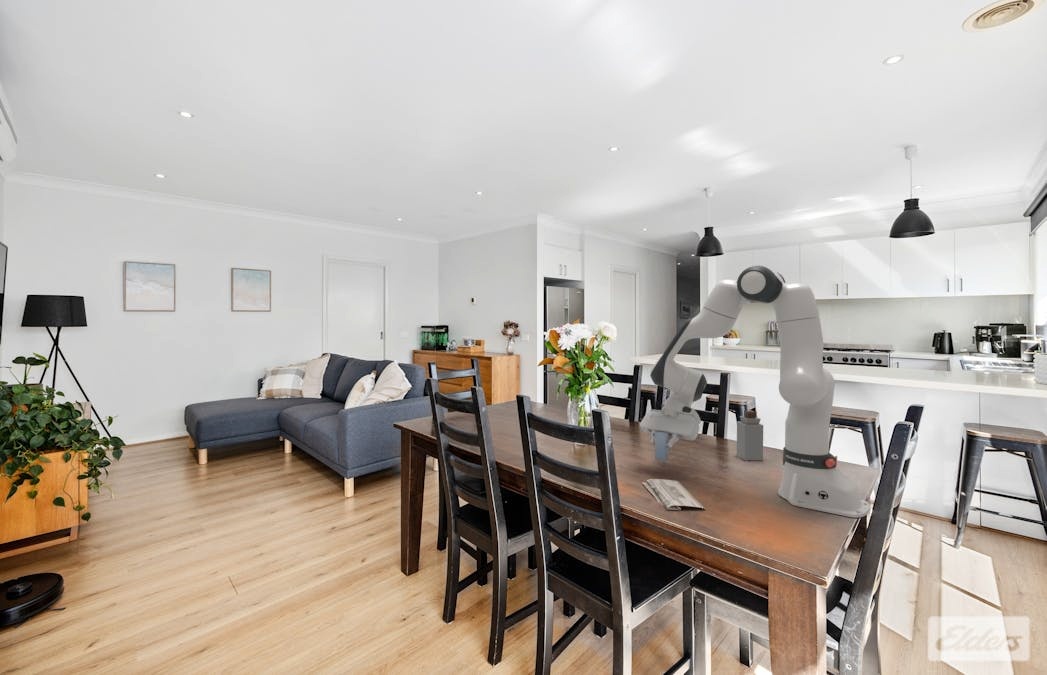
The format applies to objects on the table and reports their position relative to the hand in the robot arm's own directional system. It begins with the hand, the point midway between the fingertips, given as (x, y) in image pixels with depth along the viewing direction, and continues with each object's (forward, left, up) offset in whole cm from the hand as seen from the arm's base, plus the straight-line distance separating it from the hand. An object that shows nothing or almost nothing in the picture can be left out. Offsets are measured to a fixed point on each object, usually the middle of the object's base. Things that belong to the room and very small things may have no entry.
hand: (660, 445), depth 156 cm
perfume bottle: (-12, -43, -11) cm, 46 cm away
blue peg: (0, -1, -5) cm, 5 cm away
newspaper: (-12, +13, -11) cm, 21 cm away
